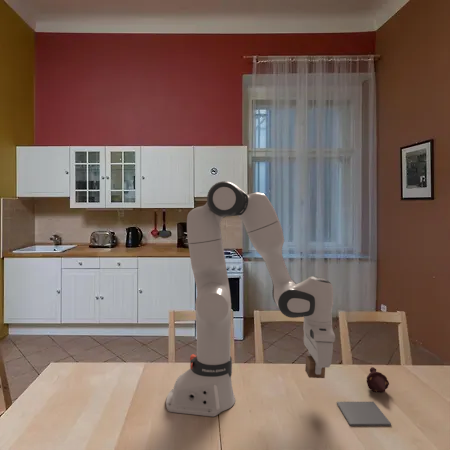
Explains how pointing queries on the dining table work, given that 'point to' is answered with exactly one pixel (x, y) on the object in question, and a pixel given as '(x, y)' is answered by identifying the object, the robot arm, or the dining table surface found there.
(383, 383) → the icecream
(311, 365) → the cube
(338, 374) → the dining table surface
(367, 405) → the coaster
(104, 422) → the dining table surface
